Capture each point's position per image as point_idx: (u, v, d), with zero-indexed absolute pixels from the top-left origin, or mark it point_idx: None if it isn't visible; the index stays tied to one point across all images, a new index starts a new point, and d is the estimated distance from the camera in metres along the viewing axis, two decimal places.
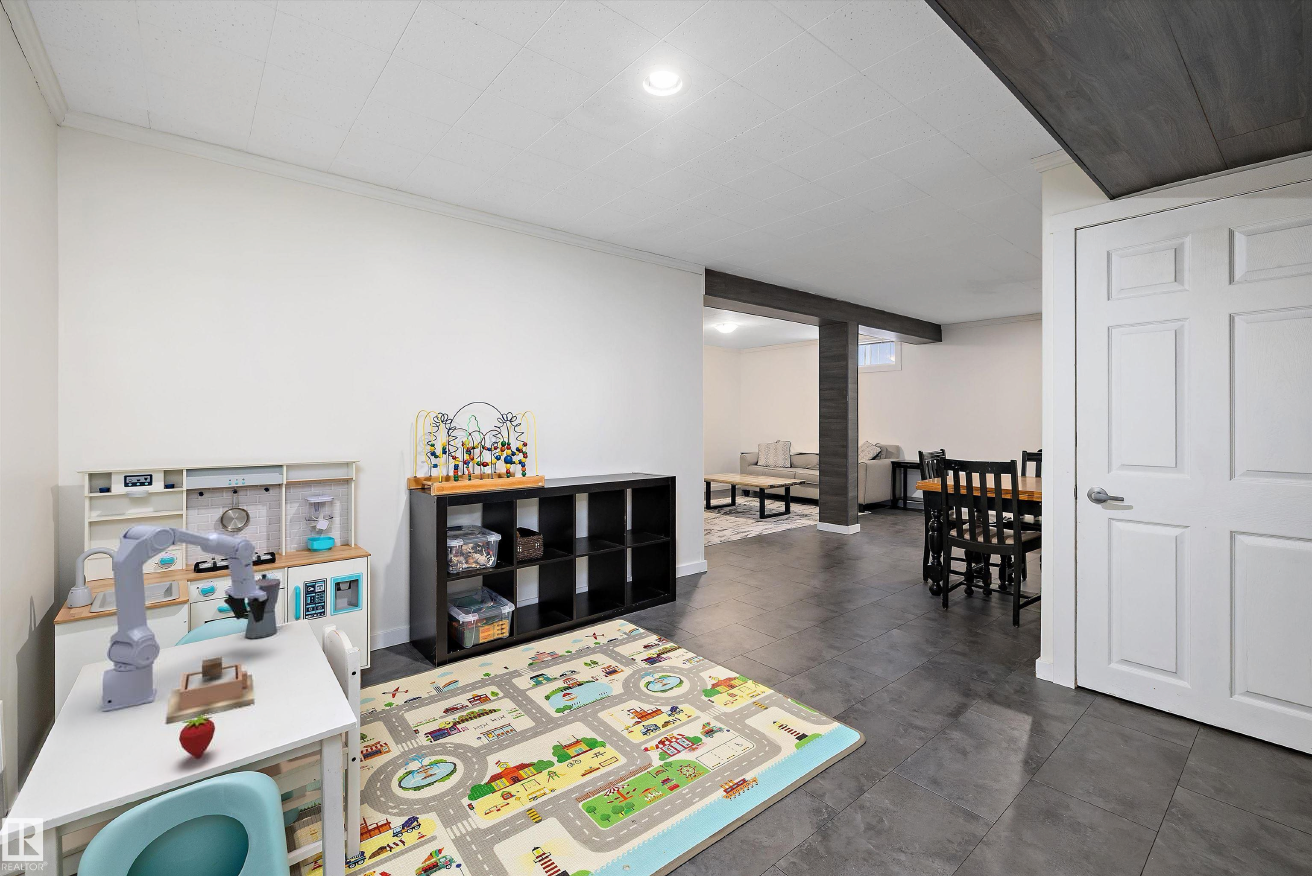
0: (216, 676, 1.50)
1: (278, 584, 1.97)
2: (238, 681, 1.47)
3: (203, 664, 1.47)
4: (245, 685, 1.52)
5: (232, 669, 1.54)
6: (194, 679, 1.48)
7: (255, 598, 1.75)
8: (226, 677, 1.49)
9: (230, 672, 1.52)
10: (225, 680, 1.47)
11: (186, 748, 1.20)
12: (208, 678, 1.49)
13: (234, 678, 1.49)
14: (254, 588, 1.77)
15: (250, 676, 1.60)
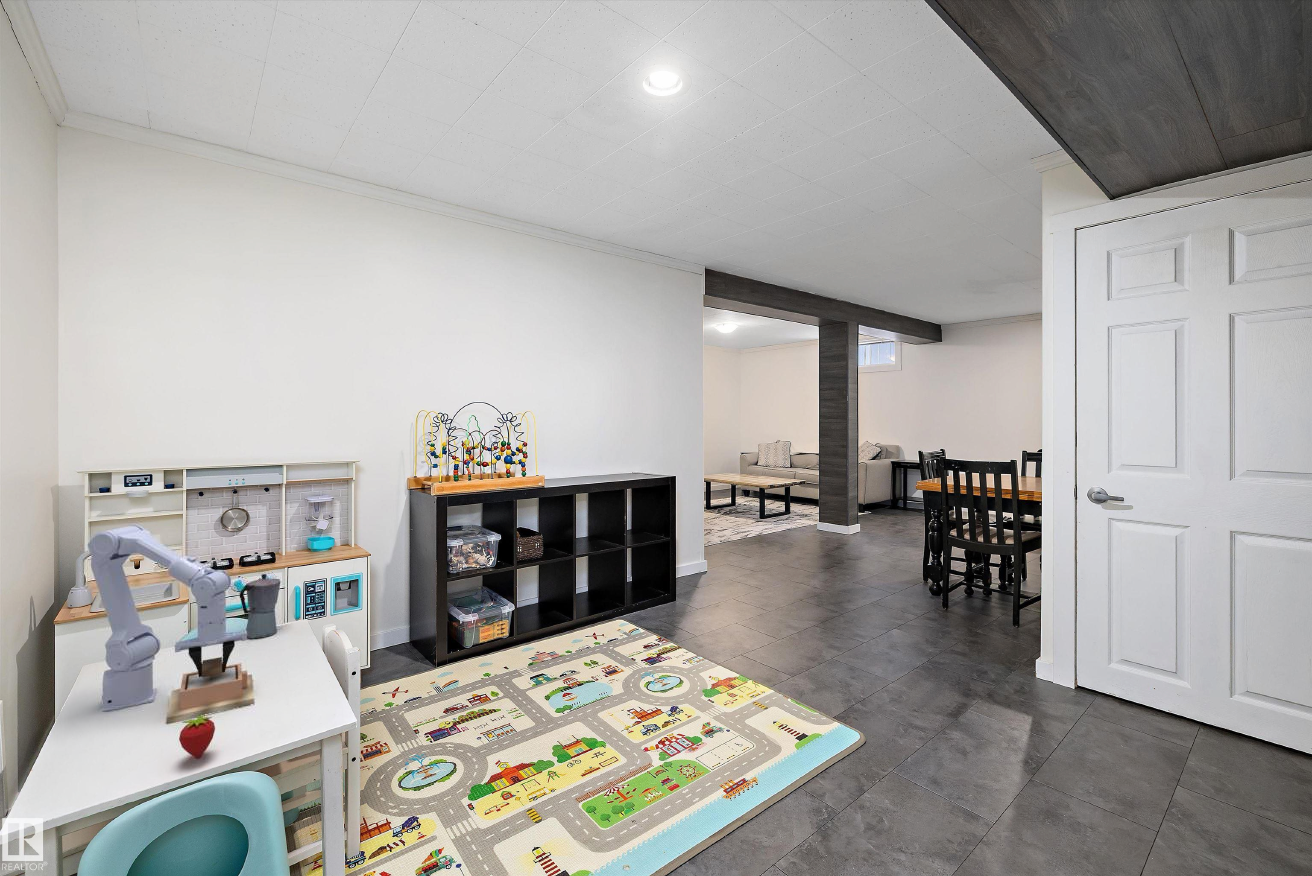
0: (216, 676, 1.50)
1: (278, 584, 1.97)
2: (238, 681, 1.47)
3: (203, 664, 1.47)
4: (245, 685, 1.52)
5: (232, 669, 1.54)
6: (194, 679, 1.48)
7: None
8: (226, 677, 1.49)
9: (230, 672, 1.52)
10: (225, 680, 1.47)
11: (186, 748, 1.20)
12: (208, 678, 1.49)
13: (234, 678, 1.49)
14: (198, 638, 1.46)
15: (250, 676, 1.60)
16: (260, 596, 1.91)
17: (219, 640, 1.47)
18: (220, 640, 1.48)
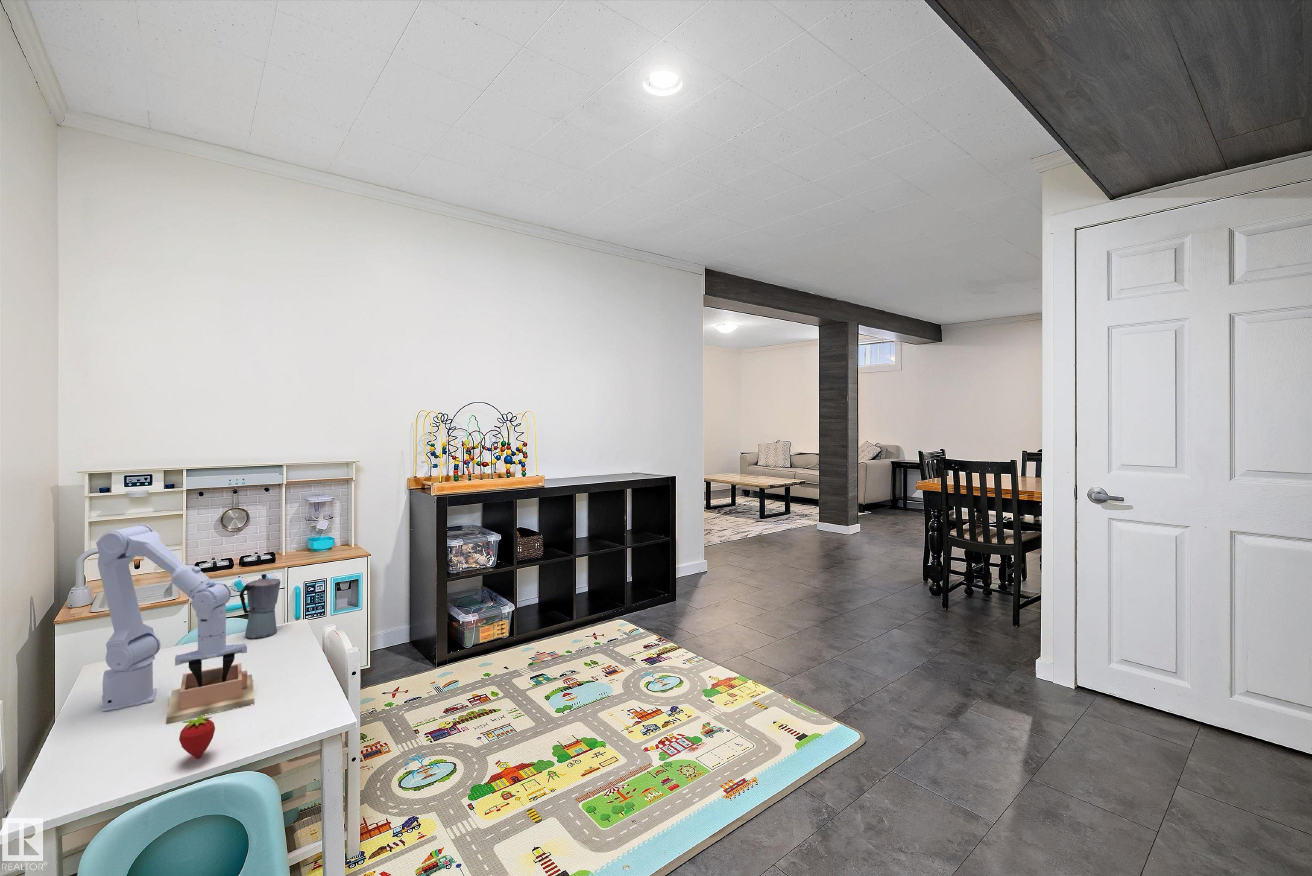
0: None
1: (278, 584, 1.97)
2: (238, 681, 1.47)
3: (203, 677, 1.47)
4: (245, 685, 1.52)
5: None
6: None
7: None
8: None
9: None
10: None
11: (186, 748, 1.20)
12: None
13: None
14: (198, 651, 1.46)
15: (250, 676, 1.60)
16: (260, 596, 1.91)
17: (219, 653, 1.48)
18: (220, 653, 1.48)
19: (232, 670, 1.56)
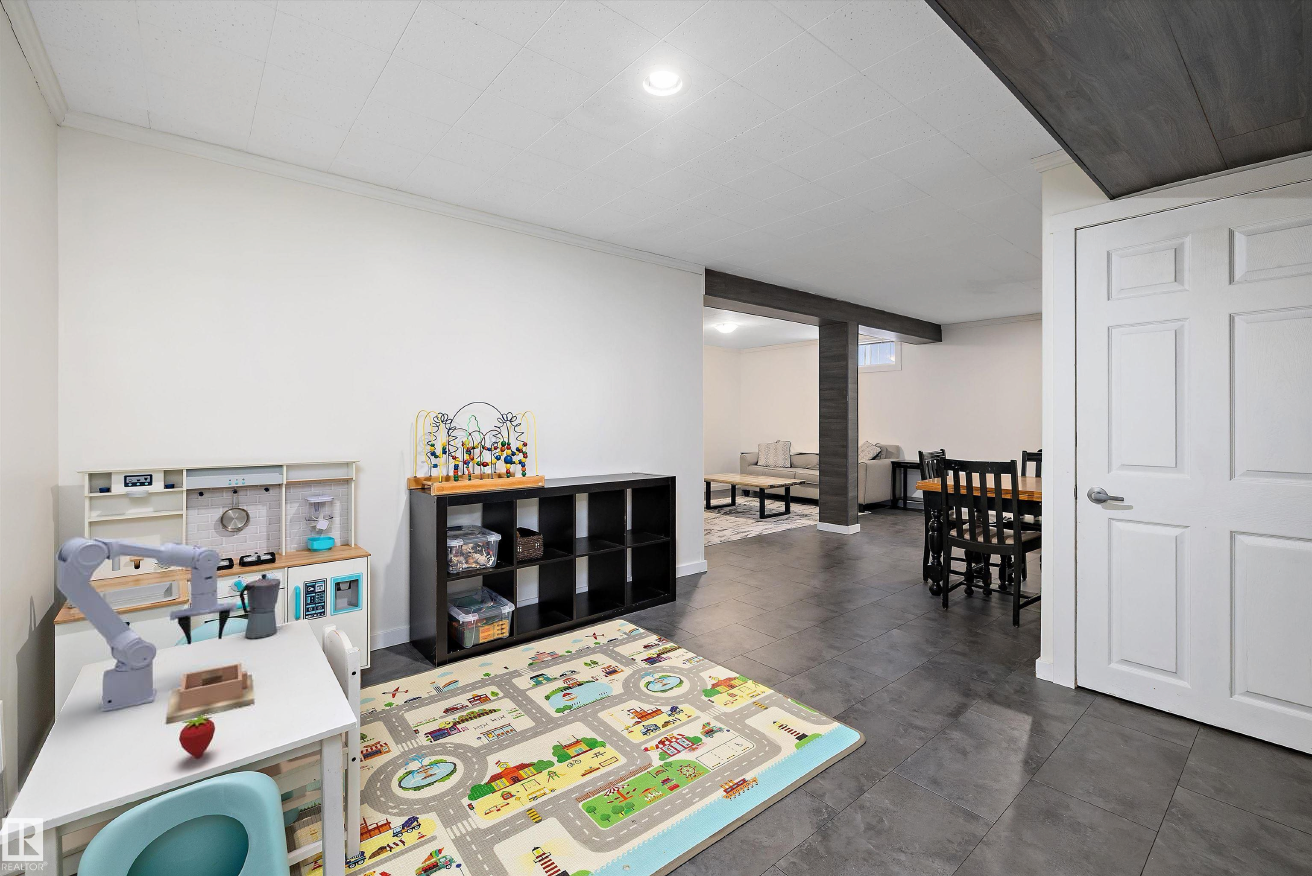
0: None
1: (278, 584, 1.97)
2: (238, 681, 1.47)
3: (203, 677, 1.47)
4: (245, 685, 1.52)
5: None
6: None
7: None
8: None
9: None
10: None
11: (186, 748, 1.20)
12: None
13: None
14: (192, 607, 1.59)
15: (250, 676, 1.60)
16: (260, 596, 1.91)
17: (211, 610, 1.60)
18: (212, 610, 1.60)
19: (232, 670, 1.56)
